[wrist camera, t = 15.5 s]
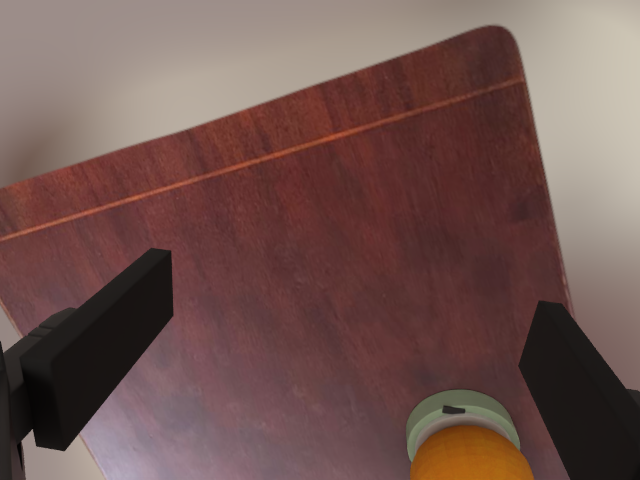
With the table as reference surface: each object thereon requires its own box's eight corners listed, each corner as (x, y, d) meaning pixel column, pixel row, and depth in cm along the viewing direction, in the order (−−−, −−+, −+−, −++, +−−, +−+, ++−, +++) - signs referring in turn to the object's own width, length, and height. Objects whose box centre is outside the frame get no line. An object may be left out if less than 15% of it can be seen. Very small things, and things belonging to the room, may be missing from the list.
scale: (526, 398, 48) (535, 420, 45) (498, 478, 52) (505, 502, 49) (416, 381, 49) (418, 401, 46) (398, 461, 53) (399, 484, 50)
